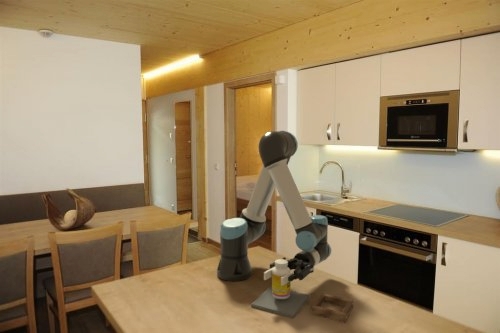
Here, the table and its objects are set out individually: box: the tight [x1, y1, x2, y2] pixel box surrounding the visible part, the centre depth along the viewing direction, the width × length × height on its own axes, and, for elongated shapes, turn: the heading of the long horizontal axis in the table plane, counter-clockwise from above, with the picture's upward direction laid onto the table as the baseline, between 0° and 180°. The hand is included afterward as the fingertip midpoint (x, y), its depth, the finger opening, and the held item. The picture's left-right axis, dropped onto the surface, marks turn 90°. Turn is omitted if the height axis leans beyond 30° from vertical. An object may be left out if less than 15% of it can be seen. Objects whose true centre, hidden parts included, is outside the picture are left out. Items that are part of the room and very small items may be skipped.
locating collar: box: [310, 292, 354, 324], centre depth 122 cm, size 12×12×2 cm
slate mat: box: [250, 285, 311, 319], centre depth 128 cm, size 16×16×1 cm
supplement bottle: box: [271, 258, 291, 299], centre depth 127 cm, size 7×7×13 cm
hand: (273, 279), depth 123 cm, fingers closed on supplement bottle, 7 cm apart
